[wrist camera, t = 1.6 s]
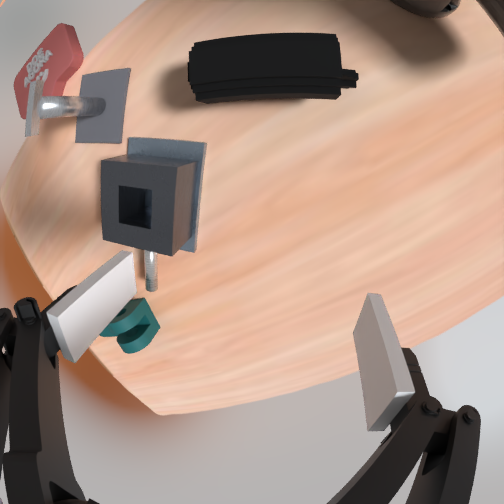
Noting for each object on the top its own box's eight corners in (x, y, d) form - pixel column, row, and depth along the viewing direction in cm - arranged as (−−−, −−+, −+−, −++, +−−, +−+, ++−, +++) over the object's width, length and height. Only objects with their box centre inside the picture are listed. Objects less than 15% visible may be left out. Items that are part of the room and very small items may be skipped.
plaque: (23, 134, 35) (10, 81, 30) (37, 132, 38) (23, 81, 34) (77, 70, 29) (60, 18, 25) (92, 72, 33) (73, 22, 28)
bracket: (145, 297, 48) (123, 322, 41) (160, 326, 50) (143, 353, 43) (86, 306, 53) (66, 327, 46) (101, 331, 55) (82, 352, 48)
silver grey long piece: (94, 86, 33) (27, 83, 20) (108, 84, 33) (39, 79, 20) (90, 127, 36) (22, 136, 23) (103, 127, 35) (34, 135, 22)
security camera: (355, 105, 30) (374, 95, 21) (212, 107, 33) (183, 100, 24) (351, 57, 27) (368, 32, 18) (210, 61, 30) (181, 40, 21)
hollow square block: (132, 137, 36) (99, 140, 29) (206, 142, 35) (183, 145, 28) (131, 269, 46) (106, 292, 38) (194, 286, 45) (175, 314, 37)
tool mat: (84, 75, 33) (82, 75, 32) (130, 68, 32) (128, 67, 31) (77, 142, 38) (75, 142, 37) (121, 143, 37) (119, 143, 36)
